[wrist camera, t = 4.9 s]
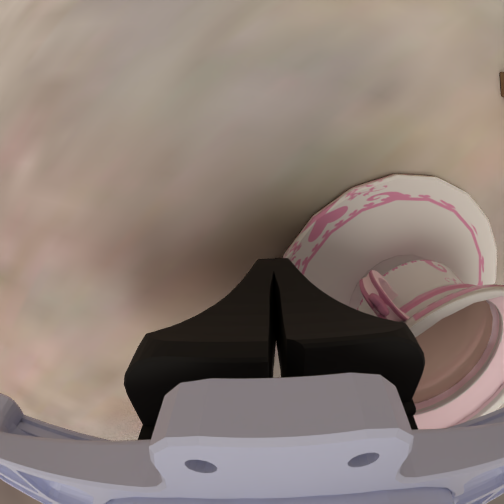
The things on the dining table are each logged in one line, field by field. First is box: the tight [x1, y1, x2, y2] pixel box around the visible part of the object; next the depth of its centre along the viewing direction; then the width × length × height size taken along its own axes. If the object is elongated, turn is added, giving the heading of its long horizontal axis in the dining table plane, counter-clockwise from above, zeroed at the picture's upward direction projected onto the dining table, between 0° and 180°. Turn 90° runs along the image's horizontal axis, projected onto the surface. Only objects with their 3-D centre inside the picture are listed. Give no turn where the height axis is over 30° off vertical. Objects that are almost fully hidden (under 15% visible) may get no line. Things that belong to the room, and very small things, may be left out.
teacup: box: [283, 174, 504, 430], centre depth 11 cm, size 12×12×6 cm
